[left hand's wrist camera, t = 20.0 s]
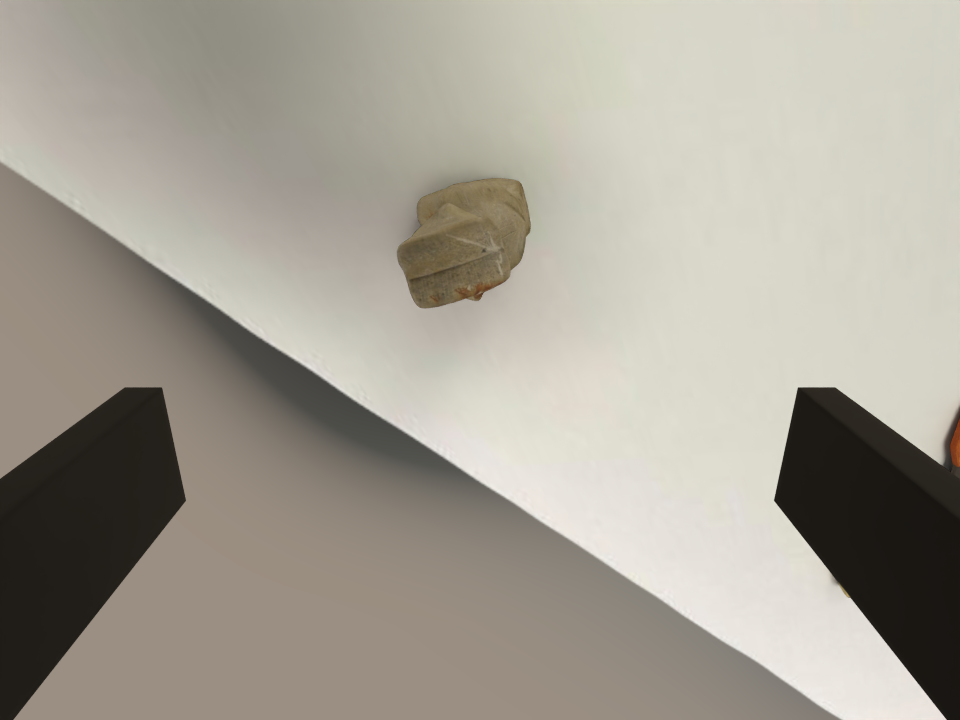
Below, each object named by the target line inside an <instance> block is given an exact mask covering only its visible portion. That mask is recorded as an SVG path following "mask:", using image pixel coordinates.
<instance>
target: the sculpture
mask: <svg viewBox="0 0 960 720" xmlns="http://www.w3.org/2000/svg"><path fill="white" fill-rule="evenodd" d="M417 215H418V220H419V222H420V224H421V225H422V226H421V227H420V228H419V229H418V230H417V231H416V232H415V233H414V234H413V235H412V237H411V238H409V239H408V240H406V241H405V242H403V243H402V244H401V245H400V246H399V247H398V250H397V257H398V262H399V265H400V266H401V268H402V269H403V271H404V273H405V276H406V279H407V283H408V286H409V290H410V293H411V296H412V298H413V300H414V302H415V303H416V305H417V306H418V307H420V308H433V307H438V306H442V305H446V304H449V303H454V302H457V301H460V300H462V299H465V298H467V299H470V300H474V301H479V300H480V299H481V297H482V295H483V293H484V292H485V291H488V290H490V289H492V288H494V287H496V286H498V285H500V284H502V283H503V282H505V281H506V280H507V279H508V278H509V277H510V271H511V270H512V269H513V268H514V267H515V266H516V265H517V264H518V263H519V262H520V261H521V259H522V256H523V252H524V247H525V240H526V236H527V235H528V234H529V233H530V229H531V228H530V227H531V224H530V217H529V211H528V206H527V202H526V198H525V194H524V191H523V187H522V185H521V183H520V182H519V181H516V180H511V179H501V178H492V179H483V180H477V181H472V182H467V183H458V184H453V185H451V186H450V187H448V188H446V189H443V190H440V191H437V192H435V193H432V194H429V195H427V196H424V197H422V198H421V199H420V200H419V202H418V205H417Z"/></svg>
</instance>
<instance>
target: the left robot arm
mask: <svg viewBox="0 0 960 720" xmlns="http://www.w3.org/2000/svg"><path fill="white" fill-rule="evenodd" d="M185 501H186V499H185V494H184V489H183V485H182V480H181V475H180V470H179V466H178V461H177V456H176V452H175V447H174V442H173V437H172V433H171V428H170V423H169V418H168V414H167V409H166V404H165V399H164V395H163V390H162V388H124V389H122V390H121V391H119V392H118V393H117V394H115V395H114V396H113V397H111V398H110V399H109V400H107V401H106V402H104V403H103V404H102V405H100V406H99V407H98V408H96V409H95V410H94V411H92V412H91V413H89V414H88V415H87V416H85V417H84V418H83V419H81V420H80V421H79V422H77V423H76V424H75V425H73V426H72V427H70V428H69V429H68V430H66V431H65V432H63V433H62V434H61V435H59V436H58V437H57V438H55V439H54V440H53V441H51V442H50V443H48V444H47V445H46V446H44V447H43V448H42V449H40V450H39V451H38V452H36V453H35V454H33V455H32V456H31V457H29V458H28V459H27V460H25V461H24V462H23V463H21V464H20V465H18V466H17V467H16V468H14V469H13V470H12V471H10V472H9V473H8V474H6V475H5V476H3V477H2V478H1V479H0V720H13V719H14V718H15V717H16V716H17V714H18V713H19V712H20V710H21V709H22V708H23V707H24V705H25V704H26V703H27V702H28V700H29V699H30V698H31V696H32V695H33V694H34V693H35V691H36V690H37V689H38V688H39V686H40V685H41V684H42V683H43V681H44V680H45V679H46V678H47V676H48V675H49V674H50V672H51V671H52V670H53V669H54V667H55V666H56V665H57V663H58V662H59V661H60V660H61V658H62V657H63V656H64V655H65V653H66V652H67V651H68V650H69V648H70V647H71V646H72V644H73V643H74V642H75V641H76V639H77V638H78V637H79V636H80V634H81V633H82V632H83V631H84V629H85V628H86V627H87V625H88V624H89V623H90V622H91V620H92V619H93V618H94V617H95V615H96V614H97V613H98V612H99V610H100V609H101V608H102V606H103V605H104V604H105V603H106V601H107V600H108V599H109V598H110V596H111V595H112V594H113V592H114V591H115V590H116V589H117V587H118V586H119V585H120V584H121V582H122V581H123V580H124V578H125V577H126V576H127V575H128V573H129V572H130V571H131V570H132V568H133V567H134V566H135V564H136V563H137V562H138V561H139V559H140V558H141V557H142V556H143V554H144V553H145V552H146V551H147V549H148V548H149V547H150V545H151V544H152V543H153V542H154V540H155V539H156V538H157V537H158V535H159V534H160V533H161V531H162V530H163V529H164V528H165V526H166V525H167V524H168V523H169V521H170V520H171V519H172V517H173V516H174V515H175V514H176V512H177V511H178V510H179V509H180V507H181V506H182V505H183V504H184V502H185ZM774 501H775V502H776V504H777V505H778V506H779V507H780V509H781V510H782V511H783V512H784V514H785V515H786V516H787V518H788V519H789V520H790V521H791V523H792V524H793V525H794V526H795V528H796V529H797V530H798V532H799V533H800V534H801V535H802V537H803V538H804V539H805V540H806V542H807V543H808V544H809V546H810V547H811V548H812V549H813V551H814V552H815V553H816V554H817V556H818V557H819V558H820V559H821V561H822V562H823V563H824V565H825V566H826V567H827V568H828V570H829V571H830V572H831V573H832V575H833V576H834V577H835V579H836V580H837V581H838V582H839V584H840V585H841V586H842V587H843V589H844V590H845V591H846V592H847V594H848V595H849V596H850V598H851V599H852V600H853V601H854V603H855V604H856V605H857V606H858V608H859V609H860V610H861V612H862V613H863V614H864V615H865V617H866V618H867V619H868V620H869V622H870V623H871V624H872V625H873V627H874V628H875V629H876V631H877V632H878V633H879V634H880V636H881V637H882V638H883V639H884V641H885V642H886V643H887V645H888V646H889V647H890V648H891V650H892V651H893V652H894V653H895V655H896V656H897V657H898V658H899V660H900V661H901V662H902V664H903V665H904V666H905V667H906V669H907V670H908V671H909V672H910V674H911V675H912V676H913V678H914V679H915V680H916V681H917V683H918V684H919V685H920V686H921V688H922V689H923V690H924V691H925V693H926V694H927V695H928V697H929V698H930V699H931V700H932V702H933V703H934V704H935V705H936V707H937V708H938V709H939V711H940V712H941V713H942V714H943V716H944V717H945V718H946V719H947V720H960V479H959V478H958V477H957V476H955V475H954V474H952V473H951V472H950V471H948V470H947V469H946V468H944V467H943V466H942V465H940V464H939V463H937V462H936V461H935V460H933V459H932V458H931V457H929V456H928V455H927V454H925V453H924V452H922V451H921V450H920V449H918V448H917V447H916V446H914V445H913V444H912V443H910V442H909V441H907V440H906V439H905V438H903V437H902V436H901V435H899V434H898V433H897V432H895V431H894V430H892V429H891V428H890V427H888V426H887V425H886V424H884V423H883V422H881V421H880V420H879V419H877V418H876V417H875V416H873V415H872V414H871V413H869V412H868V411H866V410H865V409H864V408H862V407H861V406H860V405H858V404H857V403H856V402H854V401H853V400H851V399H850V398H849V397H847V396H846V395H845V394H843V393H842V392H841V391H839V390H838V389H836V388H798V390H797V395H796V399H795V404H794V409H793V414H792V418H791V423H790V428H789V433H788V437H787V442H786V447H785V451H784V456H783V461H782V466H781V470H780V475H779V480H778V485H777V489H776V494H775V499H774Z"/></svg>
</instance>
